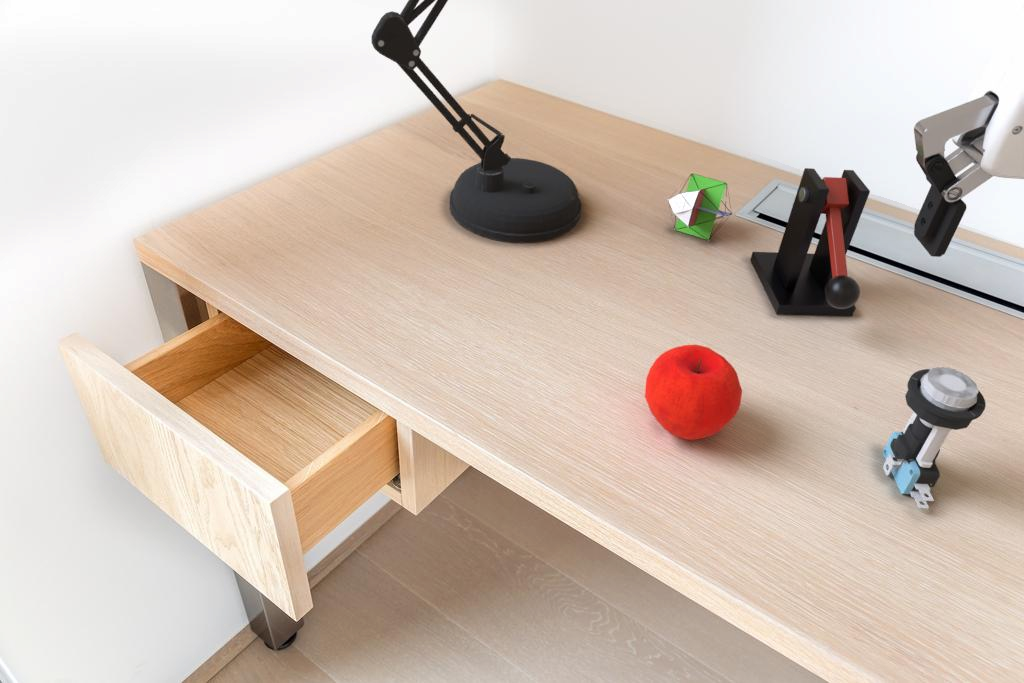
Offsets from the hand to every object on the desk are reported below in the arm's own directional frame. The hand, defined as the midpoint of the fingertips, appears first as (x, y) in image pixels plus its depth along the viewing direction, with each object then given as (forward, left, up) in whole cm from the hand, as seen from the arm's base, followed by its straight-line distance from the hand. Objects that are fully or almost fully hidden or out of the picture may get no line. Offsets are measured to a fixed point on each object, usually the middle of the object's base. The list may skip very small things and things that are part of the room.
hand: (996, 248), depth 54 cm
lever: (0, -21, -13) cm, 25 cm away
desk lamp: (+29, -39, -20) cm, 53 cm away
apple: (+17, -3, -20) cm, 27 cm away
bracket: (0, -24, -20) cm, 31 cm away
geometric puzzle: (+9, -35, -20) cm, 42 cm away
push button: (0, +3, -20) cm, 21 cm away
